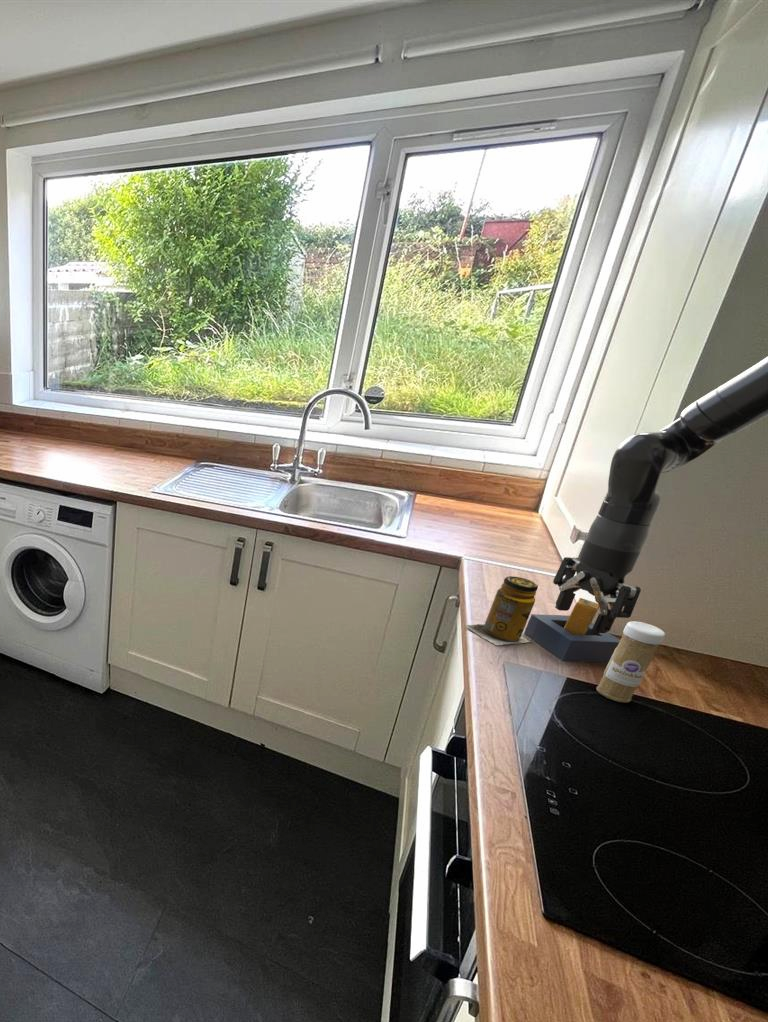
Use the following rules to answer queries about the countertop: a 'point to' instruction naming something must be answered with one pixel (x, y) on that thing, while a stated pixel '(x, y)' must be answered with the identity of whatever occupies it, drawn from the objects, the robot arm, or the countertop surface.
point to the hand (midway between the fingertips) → (579, 620)
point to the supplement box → (581, 617)
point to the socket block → (570, 640)
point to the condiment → (508, 612)
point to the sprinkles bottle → (630, 661)
